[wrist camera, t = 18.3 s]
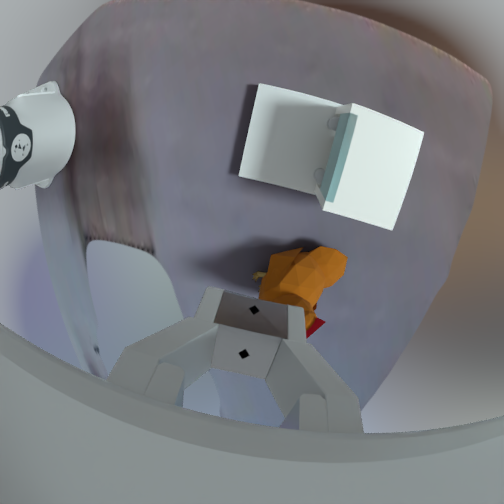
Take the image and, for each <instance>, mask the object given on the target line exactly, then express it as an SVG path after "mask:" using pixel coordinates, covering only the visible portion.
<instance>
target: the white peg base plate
mask: <svg viewBox="0 0 504 504" xmlns="http://www.w3.org/2000/svg"><path fill="white" fill-rule="evenodd" d="M338 106H342V105H341V104H338V103H335V102H332V101H328V100H325V99H322V98H318V97H315V96H311V95H307V94H304V93H300V92H296V91H292V90H288V89H283V88H279V87H274V86H270V85H265V84H260V83H259V86H258V91H257V95H256V99H255V103H254V108H253V112H252V117H251V121H250V125H249V130H248V135H247V139H246V144H245V148H244V153H243V158H242V162H241V167H240V172H239V176H240V177H244V178H249V179H253V180H258V181H262V182H266V183H270V184H275V185H279V186H283V187H287V188H291V189H294V190H298V191H302V192H306V193H310V194H313V195H316V194H315V192H314V190H315V187H316V184H319V185H321V184H322V180H323V177H324V173H325V170H326V166H327V163H328V159H329V155H330V152H331V148H332V144H333V141H334V137H335V133H336V129H337V125H338V122H339V118H340V116H338V115H335V113H336V109H337V107H338Z"/></svg>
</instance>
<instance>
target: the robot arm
mask: <svg viewBox="0 0 504 504" xmlns="http://www.w3.org/2000/svg"><path fill="white" fill-rule="evenodd" d="M46 90H47V91H46ZM74 141H75V120H74V115H73V112H72V109H71V107H70V105H69V103H68V102H67V101H66V99H65V98H64V97H63V96H62V95H61V94H60V91H59V87H58V84H57V83H56V82H55V81H50V82H47V83H45V84H43V85H41V86H38V87H36V88H34V89H32V90H30V91H28V92H26V93H24V94H21V95H18V97H16V98H14V99H12V100H10V101H8V102H7V103H6V104H5V105H3V106H0V189H2V188H4V187H5V186H7V185H9V186H10V187H12V188H14V189H15V190H19V189H22V188H25V187H28V186H31V185H34V184H35V185H37V186H39V187H41V188H47V187H49V186H50V184H51V182H52V180H53V178H54V176H55V175H56V174H57V173H58V172H59V171H61V170H62V169H63V168H64V166H65V165H66V164H67V162H68V160H69V158H70V156H71V153H72V150H73V146H74ZM210 368H215V369H220V370H225V371H230V372H234V373H239V374H243V375H248V376H252V377H256V378H261V379H265V381H266V383H267V385H268V387H269V389H270V391H271V393H272V395H273V397H274V399H275V400H276V402H277V404H278V406H279V408H280V410H281V412H282V413H283V415H284V417H285V420H284V421H283V423H282V424H281V425H280V427H279V428H278V427H271V426H264V425H258V424H252V423H247V422H241V421H236V420H231V419H227V418H222V417H218V416H213V415H208V414H205V413H201V412H197V411H193V410H190V409H186V408H183V395H184V390H185V389H186V388H187V387H188V386H190V385H191V384H192V383H193V382H195V381H196V380H197V379H198V378H200V377H201V376H202V375H203V374H205V373H206V372H207V371H208V370H210ZM0 504H504V416H500V417H496V418H493V419H489V420H484V421H479V422H475V423H470V424H464V425H459V426H453V427H446V428H439V429H431V430H422V431H410V432H396V433H395V432H394V433H364V431H363V424H362V418H361V412H360V406H359V400H358V397H357V396H356V395H355V394H354V393H353V391H352V390H351V389H350V388H349V387H348V386H347V385H346V383H345V382H344V381H343V380H342V379H341V378H340V377H339V376H338V374H337V373H336V372H335V371H334V370H333V369H332V367H331V366H330V365H329V364H328V363H327V362H326V361H325V359H324V358H323V357H322V356H321V355H320V354H319V353H318V351H317V350H316V349H315V348H314V347H313V346H312V344H308V343H307V341H306V329H305V317H304V309H303V308H302V307H298V306H292V305H285V304H280V303H275V302H270V301H266V300H261V299H257V298H254V297H250V296H246V295H242V294H239V293H235V292H231V291H227V290H223V289H219V288H215V287H211V286H208V287H207V288H206V290H205V293H204V295H203V297H202V300H201V302H200V304H199V307H198V309H197V312H196V314H195V316H194V318H192V317H187V318H185V319H183V320H181V321H179V322H177V323H175V324H173V325H171V326H169V327H167V328H165V329H163V330H161V331H159V332H157V333H155V334H153V335H151V336H148V337H146V338H144V339H142V340H140V341H138V342H136V343H134V344H132V345H130V346H127V347H125V349H124V350H123V352H122V354H121V355H120V357H119V359H118V360H117V362H116V364H115V366H114V367H113V369H112V371H111V372H110V374H109V376H108V378H107V379H106V380H103V379H101V378H99V377H97V376H94V375H92V374H90V373H88V372H86V371H83V370H81V369H79V368H77V367H75V366H73V365H71V364H69V363H67V362H65V361H63V360H61V359H59V358H57V357H55V356H54V355H52V354H50V353H48V352H46V351H44V350H43V349H41V348H39V347H37V346H36V345H34V344H32V343H31V342H29V341H27V340H26V339H24V338H22V337H21V336H19V335H18V334H16V333H14V332H13V331H11V330H10V329H8V328H7V327H5V326H4V325H2V324H1V323H0Z"/></svg>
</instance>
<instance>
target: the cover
mask: <svg viewBox="0 0 504 504" xmlns="http://www.w3.org/2000/svg"><path fill="white" fill-rule="evenodd" d="M335 115H338V116H340V118H339V122H338V125H337V129H336V133H335V137H334V141H333V144H332V148H331V152H330V155H329V159H328V163H327V166H326V170H325V173H324V177H323V180H322V184H321V185H319V184H316V187H315V190H314V192H315V194H316V196H317V198H318V201H319V203H320V205H321V207H322V210H324V211H328V212H332V213H335V214H339V215H342V216H346V217H349V218H353V219H356V220H359V221H363V222H366V223H370V224H373V225H376V226H379V227H383V228H386V229H389V230H393V227H394V224H395V222H396V219H397V217H398V214H399V211H400V208H401V206H402V203H403V200H404V197H405V194H406V191H407V188H408V185H409V182H410V179H411V176H412V173H413V170H414V167H415V163H416V160H417V157H418V153H419V150H420V146H421V142H422V139H423V135H424V132H422V131H420V130H418V129H416V128H414V127H411V126H409V125H407V124H405V123H402V122H400V121H398V120H396V119H393V118H391V117H388V116H386V115H383V114H381V113H378V112H376V111H373V110H371V109H368V108H365V107H362V106H360V105H357V104H354V103H351V104H346V105H342V106H338V107H337V109H336V113H335Z"/></svg>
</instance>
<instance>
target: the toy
mask: <svg viewBox="0 0 504 504" xmlns="http://www.w3.org/2000/svg"><path fill="white" fill-rule="evenodd" d="M302 248H303V247H302ZM302 248H298V249H293V250H289V251H285V252H281V253H276V254H272V255H271V258H270V262H269V267H268V272H267V273H265V272H260V271H258V272H256V273H254V274H252V275H254V277H253V279H255V278H256V280H255V282H256V281H257V279H258V278H259V277H263V278H262V281H261V285H260V286H258V287H260V289H259V291H260V293H259V299H261V300H266V301H270V302H275V303H280V304H285V305H292V306H298V307H302V308H303V309H304V317H305V329H306V339H307V338H308V337H309V336H310V335H311V334H313V333H314V332H315V331H316V330H317V329H318V328H319V327H321V326H322V325H323V324H324V323H325V321H323V320H321V319H319V318H317V316H316V314H315V312H314V310H315V309H316V304H317V301H318V299H319V297H320V295H321V294H322V292H323V288H326V287H330V286H332V285H333V284H334V283H335V282H336V281H337V280H338V279H340V278H341V277H342V276H343V275H344V271H345V267H346V262H347V258H348V257H346V256H345V255H343V254H342V253H341V252H339V251H338V250H336V249H332V248H327V247H322V246H320V247H318V248H316V249H314V250H312V251H310V252H300V251H301V250H302ZM299 252H300V253H299ZM253 279H252V280H253ZM259 291H258V292H259Z"/></svg>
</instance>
